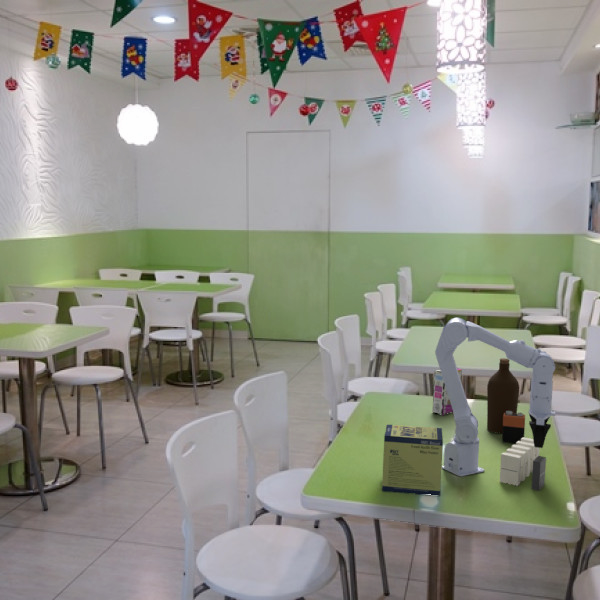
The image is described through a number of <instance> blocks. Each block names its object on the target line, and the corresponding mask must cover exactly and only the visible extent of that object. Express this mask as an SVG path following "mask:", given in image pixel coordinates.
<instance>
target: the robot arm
mask: <svg viewBox="0 0 600 600" xmlns="http://www.w3.org/2000/svg"><path fill="white" fill-rule="evenodd" d="M466 340H467V342H475V341H480V342H482V343H483V344H487V345H489V346H491V347H493V348H496V349H498V350H500V351H502V352H504V353H505V356H506V359H509V361H512V362H515V363H517V364H519V365H520V366H523V367H525V368H527V369H532V375H531V380H530V396H529V409H528V415H529V417H530V418H529V419H530V421H529V422H528V424H529V427H530V430H531V432H532V439H533V440H534V446H535V447H538V448H541V449H542V448H544V445H545V440H546V437H547V434H548V432H549V430H550V429H551V426H552V425H551V423H548V421H549V419H550V418H551V417H552V416H553V417H554V416H556V411H552V399H553V386H554V385H553V383H554V380H553V379H554V372H555V371H556V365H555V362H554V359H553V358H552V355H550V354H549V353H547V352H546V351H543V350H542V349H541V348H535V347H532V346H530V345H528V344H526V341H525V340H523V339H520V340H518V339H515V340H511V341H510V340H508V339H505V338H504V337H502V336H499V335H498V334H496V333H494V332H492V331H490V330H488V329H487V328H485V327H483V326H481V325H478V324H476V323H474V322H472V321H468V320H467V321H466V320H465V319H463V318H462V317H453V318H451V319H450V320H449V319H448V321H447V323H445V325H444V327H443V328H442V331H441V333H440V336H439V338H438V342H437V345H436V347H435V350H434V352H435V353H434V354H435V358H436V360H437V363H438V367H439V370H441V374H442V377H443V380H444V383H445V387H446V390H447V393H448V396H449V399H450V403H451V406H452V409H453V412H452V413H453V418H454V422H455V429H454V433H455V435H453V439H452V440H451V441H450V442H448V443H447V444H445V446H444V455H443V456H444V457H443V465H442V470H445V471H448V472H450V473H452V474H454V475H456V476H457V477H465V476H469V475H473V474H479V473H483V472H485V468H482V467H480V466H479V453H480V452H479V451H480V449H479V447H480V438H479V437H478V436H479V435H478V434H479V430H478V427H479V421H478V418H477V417H476V416H475V415H474V414H473V413H472V409H471V407H470V405H469V402H468V399H467V395H466V393H465V388H464V386H463V384H462V378H461V379H460V376H459V373H458V370H457V368H458V366H457V364H456V360H455V358H454V353H455V351H456V349H457V348H458V347H459V346H460V345H461V344H462V343H464V342H465V341H466Z"/></svg>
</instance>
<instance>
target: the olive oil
mask: <svg viewBox="0 0 600 600" xmlns="http://www.w3.org/2000/svg"><path fill="white" fill-rule="evenodd" d="M498 365H499V367H498V368H499V369H498V370H497V371H496V372H495V373H494V374H493V375H492V376H491V377H489V379H488V382H487V384H486V385H487V386H486V387H487V389H486V390H487V393H486V397H487V398H486V399H487V400H486V401H487V403H486V405H487V408H486V409H487V415H486V416H487V419H486V421H487V422H486V426H487V427H486V429H487V430H488V431H489V432H491V433H494V434H500V435H502V432H503V415H504V413H506V411H512V413H516V414H518V406H519V405H518V404H519V398H520V397H519V396H520V384H519V383H520V382H519V380H518V379H517V378H516V376H515V375H514V374H513V373H512V372H511V370H510V359H508V358H500V359H499V363H498Z"/></svg>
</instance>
